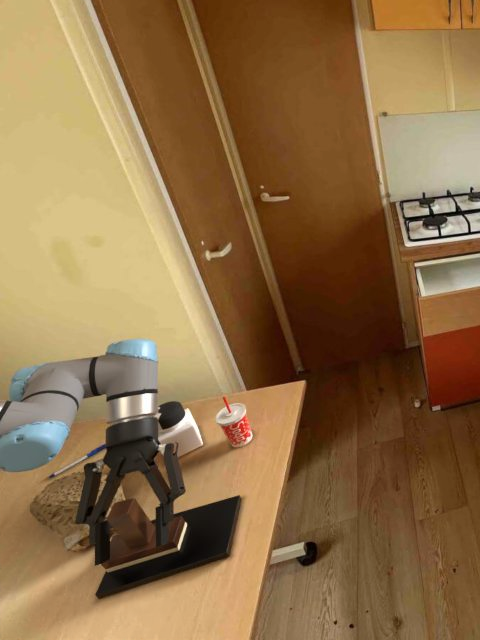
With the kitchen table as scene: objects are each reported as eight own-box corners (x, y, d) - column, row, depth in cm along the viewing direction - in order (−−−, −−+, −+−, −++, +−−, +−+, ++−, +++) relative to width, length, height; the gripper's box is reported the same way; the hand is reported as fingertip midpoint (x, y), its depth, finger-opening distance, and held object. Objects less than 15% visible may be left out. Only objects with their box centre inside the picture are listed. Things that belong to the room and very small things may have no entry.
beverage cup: (225, 453, 99) (205, 411, 93) (229, 434, 104) (210, 392, 98) (255, 444, 101) (237, 402, 95) (257, 425, 106) (240, 384, 100)
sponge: (144, 521, 86) (114, 454, 96) (121, 509, 81) (91, 440, 90) (64, 581, 79) (39, 502, 88) (33, 572, 74) (10, 489, 83)
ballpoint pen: (109, 443, 102) (107, 440, 101) (110, 445, 101) (108, 442, 101) (50, 477, 94) (47, 474, 93) (51, 479, 93) (48, 476, 93)
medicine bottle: (198, 427, 106) (180, 392, 100) (203, 445, 101) (185, 409, 96) (163, 444, 101) (143, 408, 96) (167, 463, 97) (146, 427, 91)
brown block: (107, 572, 76) (73, 533, 70) (119, 544, 80) (88, 505, 74) (179, 550, 79) (152, 511, 73) (187, 524, 83) (163, 485, 77)
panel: (98, 599, 73) (94, 595, 73) (127, 532, 83) (124, 527, 83) (229, 557, 79) (226, 552, 79) (241, 499, 89) (239, 494, 89)
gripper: (204, 406, 87) (209, 526, 81) (78, 435, 81) (74, 568, 75) (187, 406, 80) (192, 538, 74) (48, 438, 74) (41, 584, 68)
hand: (132, 553), depth 75 cm, fingers closed on brown block, 8 cm apart
